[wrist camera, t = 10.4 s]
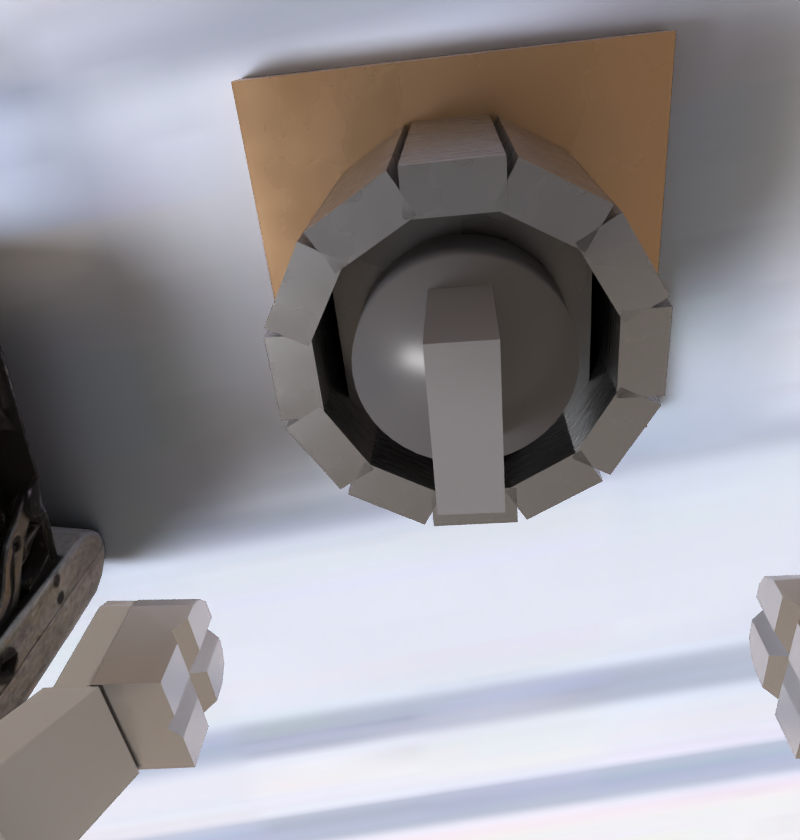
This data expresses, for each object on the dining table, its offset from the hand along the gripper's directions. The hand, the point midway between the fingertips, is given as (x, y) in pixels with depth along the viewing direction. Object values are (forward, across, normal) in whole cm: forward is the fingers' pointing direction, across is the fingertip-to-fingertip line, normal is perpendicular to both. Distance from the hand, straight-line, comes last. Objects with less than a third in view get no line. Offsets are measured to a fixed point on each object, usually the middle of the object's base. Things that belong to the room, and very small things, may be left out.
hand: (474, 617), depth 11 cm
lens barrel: (+18, 0, +1) cm, 19 cm away
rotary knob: (+11, 0, 0) cm, 11 cm away
